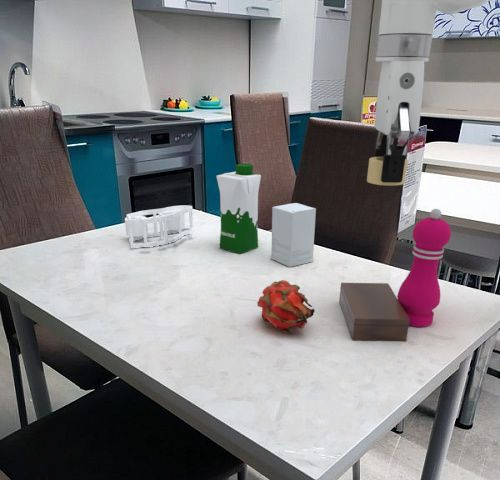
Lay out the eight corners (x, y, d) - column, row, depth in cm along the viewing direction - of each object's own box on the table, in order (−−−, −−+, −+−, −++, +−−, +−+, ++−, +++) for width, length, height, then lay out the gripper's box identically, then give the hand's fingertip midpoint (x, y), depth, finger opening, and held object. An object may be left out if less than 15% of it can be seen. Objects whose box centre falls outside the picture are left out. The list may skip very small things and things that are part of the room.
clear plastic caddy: (184, 228, 144) (182, 202, 140) (204, 237, 136) (203, 210, 132) (117, 239, 133) (114, 212, 130) (134, 250, 125) (131, 221, 122)
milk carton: (263, 247, 129) (265, 165, 119) (239, 255, 122) (239, 170, 113) (237, 240, 134) (237, 161, 124) (213, 248, 127) (211, 166, 118)
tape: (399, 178, 84) (402, 156, 83) (408, 185, 79) (412, 162, 78) (363, 178, 85) (366, 155, 83) (370, 185, 79) (373, 161, 78)
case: (387, 302, 98) (389, 283, 96) (408, 341, 84) (412, 319, 82) (338, 301, 98) (340, 282, 97) (351, 340, 84) (354, 318, 82)
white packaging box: (313, 261, 119) (317, 208, 113) (289, 267, 115) (291, 212, 109) (294, 253, 124) (296, 201, 119) (269, 258, 121) (271, 205, 115)
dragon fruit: (268, 317, 95) (302, 353, 87) (237, 301, 89) (271, 338, 81) (295, 281, 93) (333, 314, 85) (266, 262, 88) (303, 296, 79)
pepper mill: (406, 307, 96) (427, 201, 87) (442, 320, 91) (467, 210, 82) (385, 318, 91) (405, 207, 82) (422, 332, 87) (447, 216, 78)
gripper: (448, 48, 66) (424, 189, 74) (413, 52, 81) (397, 169, 89) (390, 47, 66) (373, 188, 74) (366, 52, 81) (354, 168, 89)
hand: (386, 176), depth 82 cm, fingers closed on tape, 6 cm apart
